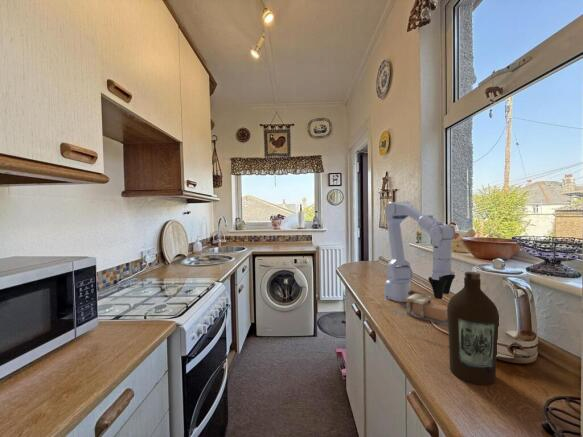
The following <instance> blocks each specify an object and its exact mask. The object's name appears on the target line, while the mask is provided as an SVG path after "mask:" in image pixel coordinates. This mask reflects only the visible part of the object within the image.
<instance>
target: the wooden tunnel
mask: <svg viewBox="0 0 583 437" xmlns="http://www.w3.org/2000/svg"><path fill="white" fill-rule="evenodd" d="M413 302H414V303H419V304H420V317H421V318H424V303H426V302H427V303H432V296H430V295H426V294H420V293H416V292H415V293H413V294H411V295H410V296H409V295H408V298H406V302H405V303H406V304H405V305H406V306H405V307H406V308H405V309H406V310H405V311H406V312H405V313H406V314H409V315H410V314H411V309H412V303H413ZM406 314H405V315H406ZM409 315H408V316H409ZM421 318H420V319H421Z"/></svg>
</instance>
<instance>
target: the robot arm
mask: <svg viewBox="0 0 583 437" xmlns="http://www.w3.org/2000/svg"><path fill="white" fill-rule="evenodd" d="M384 212H385V220H386V225H387V232H388V239H389V240H388V241H389V246H390V256H391V260H390V261H389V262H388V263H387V264H386V278H387V280H385V283H384V299H383V301H386V300H392V301H395V302H402V303H403V302H405V303H406V298H408V297H409V292H408V282H410V280H411V279H412V278H413V275H414V274H413V269H412V268H411V263H410V261H408V260H407V259H406V258H405V253H404V252H405V251H404V244H403V237H402V230H401V223H402V222H404V221H405V220H406V219H407V218H408V217H409V218H410V219H412V220H414V221H416V222H417V224H418V227H419V228H421V229H422V230H423V231H425V232H426V233H427V234H428V236H429V238H430V239H431V245H432V256H433V257H432V273H431V276H429V277H428V282H429V283H430V285H431V287H432V288H431V289H432V291H433V295H434V298H435V299H437V300H442V299H443V296H444V295H449V294H450V292H451V287H452V283H453V281H454V279H455V278H456V275H455V274H456V271H452V241H453V239H455V237H456V230H455V228H454V227H453V226H452V225H451V224H449V223H448V224H445V223H443V222H442V221H441V220H438V219H436V218H435V217H434V215H432V214H424V213H422V212H421V211H419V210H418V209H417V208H415V206H414V204H413V203H411V201H389V202H388V203H387V204H386V206H385V208H384ZM400 265H401V266H400ZM397 266H400V267H397Z"/></svg>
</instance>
